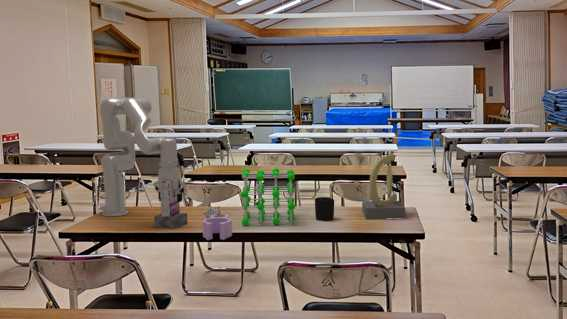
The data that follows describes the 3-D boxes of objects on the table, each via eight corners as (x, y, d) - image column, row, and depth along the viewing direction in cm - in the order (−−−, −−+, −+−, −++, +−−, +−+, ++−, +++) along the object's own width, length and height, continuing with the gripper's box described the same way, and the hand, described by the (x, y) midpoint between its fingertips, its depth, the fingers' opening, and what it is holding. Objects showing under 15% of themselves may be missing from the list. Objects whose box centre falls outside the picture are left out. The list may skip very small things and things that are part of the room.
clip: (207, 229, 278) (206, 214, 277) (234, 229, 278) (234, 214, 277) (200, 240, 258) (200, 224, 257) (230, 240, 258) (229, 223, 257)
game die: (217, 230, 292) (229, 213, 292) (210, 227, 284) (222, 209, 285) (204, 219, 296) (216, 202, 296) (196, 216, 288) (209, 199, 288)
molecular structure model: (244, 215, 307) (243, 167, 304) (294, 214, 307) (293, 166, 304) (241, 226, 283) (240, 174, 280) (295, 225, 283) (294, 173, 280)
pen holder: (337, 218, 298) (337, 197, 297) (330, 221, 289) (330, 201, 288) (319, 216, 302) (319, 196, 300) (311, 220, 293) (311, 199, 292)
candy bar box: (170, 212, 293) (168, 178, 291) (180, 212, 292) (178, 178, 290) (160, 217, 282) (159, 181, 280) (170, 217, 281) (169, 181, 279)
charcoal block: (154, 227, 284) (154, 216, 283) (167, 222, 294) (166, 211, 294) (175, 228, 280) (175, 217, 280) (187, 223, 290) (187, 213, 290)
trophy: (405, 219, 293) (405, 157, 290) (366, 219, 294) (366, 157, 290) (399, 211, 312) (399, 152, 308) (362, 211, 312) (362, 153, 309)
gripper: (148, 165, 283) (150, 202, 285) (181, 166, 277) (182, 203, 279) (157, 163, 290) (158, 199, 292) (189, 164, 284) (190, 200, 286)
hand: (170, 201), depth 286 cm, fingers open, 9 cm apart
